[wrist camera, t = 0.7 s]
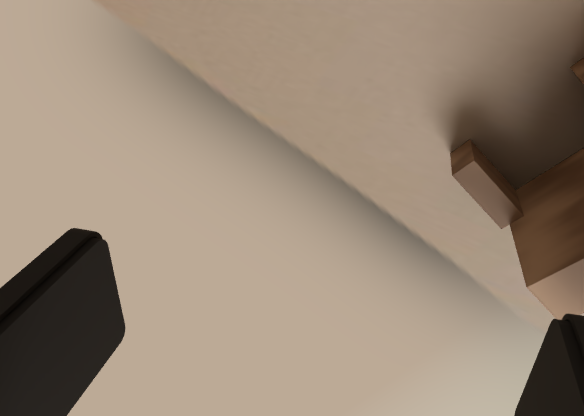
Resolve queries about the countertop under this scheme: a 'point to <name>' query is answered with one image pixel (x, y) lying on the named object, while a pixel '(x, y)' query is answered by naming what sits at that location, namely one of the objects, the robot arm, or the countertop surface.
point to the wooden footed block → (537, 220)
